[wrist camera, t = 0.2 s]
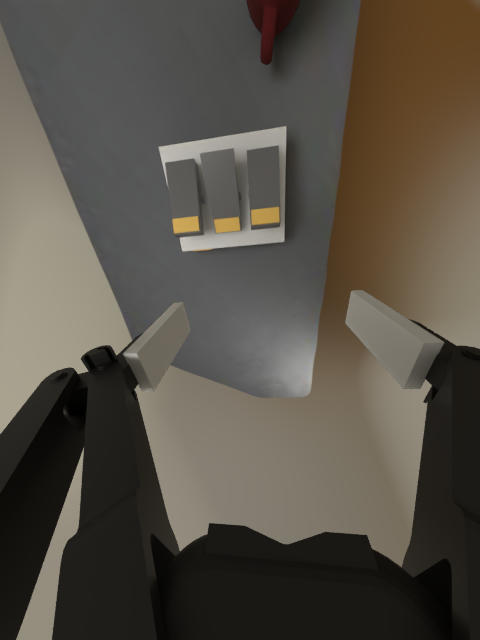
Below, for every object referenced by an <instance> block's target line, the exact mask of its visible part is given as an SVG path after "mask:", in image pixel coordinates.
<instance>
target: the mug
mask: <svg viewBox="0 0 480 640" xmlns="http://www.w3.org/2000/svg"><path fill="white" fill-rule="evenodd" d="M299 2H300V0H247V5H248V9H249V13H250V16H251V18H252V21H253V23H254V25H255V26H256V28H257V29H258V30H259V31H260V32H261V33H262V38H261V55H260V58H261V62H262V63H263V64H265V65H268V64H270V63H271V61H272V54H273V43H274V36H276V35H278V34H279V33H281V32H282V31H283V30H284V29H285V28H286V27H287V26H288V24H289V23H290V21H291V20H292V18H293V16H294V14H295V12H296V10H297V7H298V5H299Z"/></svg>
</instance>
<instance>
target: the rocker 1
mask: <svg viewBox="0 0 480 640" xmlns="http://www.w3.org/2000/svg"><path fill="white" fill-rule="evenodd" d="M165 166H166V174H167V183H168V191H169V199H170V207H171V216H172V224H173V232H174V235H175V236H176V237H178V238H181V237H191V236H201V235H204V227H203V217H202V206H201V196H200V185H199V174H198V165H197V163H196V161H195V159H194V158H192V159H186V160H179V161H173V162H166V163H165Z"/></svg>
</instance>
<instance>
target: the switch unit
mask: <svg viewBox="0 0 480 640" xmlns="http://www.w3.org/2000/svg"><path fill="white" fill-rule="evenodd" d="M277 145H279V177H280V215H281V224H280V227H278V228H269V229H259V230H251V224H250V205H249V186H248V168H247V150H251V149H258V148H264V147H271V146H277ZM230 148H234V152H235V162H236V172H237V182H238V192H239V202H240V212H241V222H242V231H236V232H227V233H217V234H216V232H215V227H214V223H213V218H212V213H211V208H210V203H209V198H208V193H207V188H206V183H205V178H204V173H203V168H202V163H201V158H200V154H201V153H204V152H211V151H217V150H224V149H230ZM159 151H160V155H161V159H162V164H163V168H164V172H165V177H166V181H167V174H166V166H165V163H166V162H173V161H179V160H186V159H192V158H194V159H195V161H196V163H197V165H198V174H199V185H200V196H201V206H202V217H203V227H204V235H201V236H191V237H181V238H180V242H181V247H182V251H191V250H193V251H202V250H212V249H213V248H234V247H242V246H245V245H266V244H274V243H276V242H284V232H285V176H286V126H284V127H278V128H272V129H266V130H260V131H254V132H248V133H241V134H235V135H229V136H223V137H217V138H211V139H205V140H199V141H192V142H186V143H180V144H174V145H168V146H162V147H159ZM167 186H168V183H167Z"/></svg>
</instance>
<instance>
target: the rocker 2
mask: <svg viewBox="0 0 480 640" xmlns="http://www.w3.org/2000/svg"><path fill="white" fill-rule="evenodd" d="M200 158H201V163H202V168H203V173H204V178H205V183H206V188H207V193H208V198H209V203H210V208H211V213H212V218H213V223H214V227H215V232H216V234H217V233H227V232H236V231H242V222H241V212H240V202H239V192H238V182H237V172H236V162H235V152H234V148H230V149H224V150H217V151H211V152H204V153H201V154H200Z"/></svg>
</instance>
